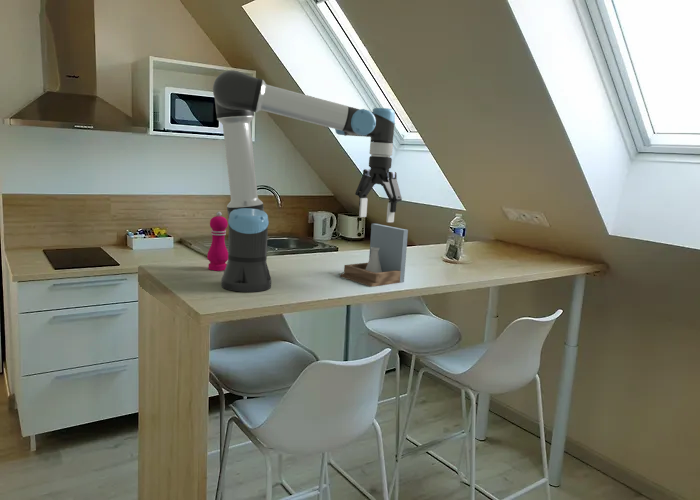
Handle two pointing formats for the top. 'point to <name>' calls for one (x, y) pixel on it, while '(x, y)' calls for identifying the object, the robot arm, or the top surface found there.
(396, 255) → the wall board
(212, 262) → the pepper mill
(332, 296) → the top surface
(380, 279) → the wooden tray
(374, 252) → the flask
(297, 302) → the top surface
